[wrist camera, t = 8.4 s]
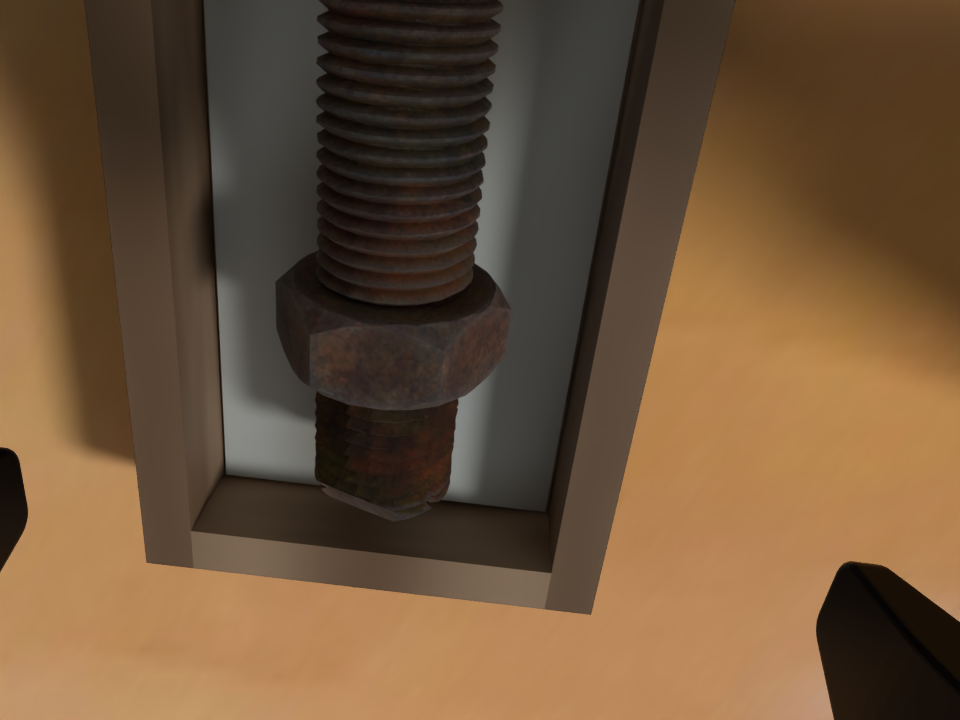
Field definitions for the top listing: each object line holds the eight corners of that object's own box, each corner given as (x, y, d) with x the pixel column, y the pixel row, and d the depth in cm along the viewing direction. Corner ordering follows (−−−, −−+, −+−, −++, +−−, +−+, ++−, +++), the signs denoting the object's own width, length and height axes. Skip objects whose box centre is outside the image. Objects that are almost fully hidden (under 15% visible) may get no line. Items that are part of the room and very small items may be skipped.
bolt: (377, 401, 22) (412, -267, 15) (532, 472, 20) (662, -270, 12) (213, 503, 17) (146, -387, 10) (389, 610, 15) (462, -422, 8)
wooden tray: (774, -382, 14) (850, -488, 11) (581, 527, 23) (591, 614, 20) (134, -463, 14) (18, -594, 10) (198, 481, 23) (146, 562, 20)
